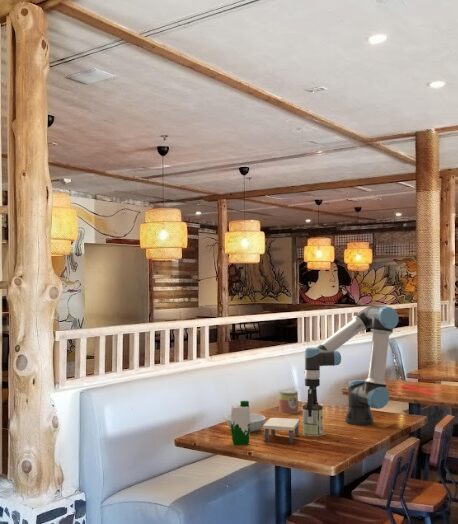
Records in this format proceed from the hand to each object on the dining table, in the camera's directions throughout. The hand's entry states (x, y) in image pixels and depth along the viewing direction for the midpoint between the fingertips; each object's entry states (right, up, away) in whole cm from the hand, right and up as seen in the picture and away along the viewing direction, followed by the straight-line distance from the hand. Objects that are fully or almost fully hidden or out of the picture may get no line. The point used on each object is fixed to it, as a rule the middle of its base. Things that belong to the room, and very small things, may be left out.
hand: (312, 420), depth 310 cm
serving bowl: (-34, -8, +9) cm, 35 cm away
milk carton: (-37, -7, -18) cm, 41 cm away
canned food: (-7, -9, +55) cm, 56 cm away
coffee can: (0, -7, 0) cm, 7 cm away
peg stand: (-16, -7, -9) cm, 20 cm away
